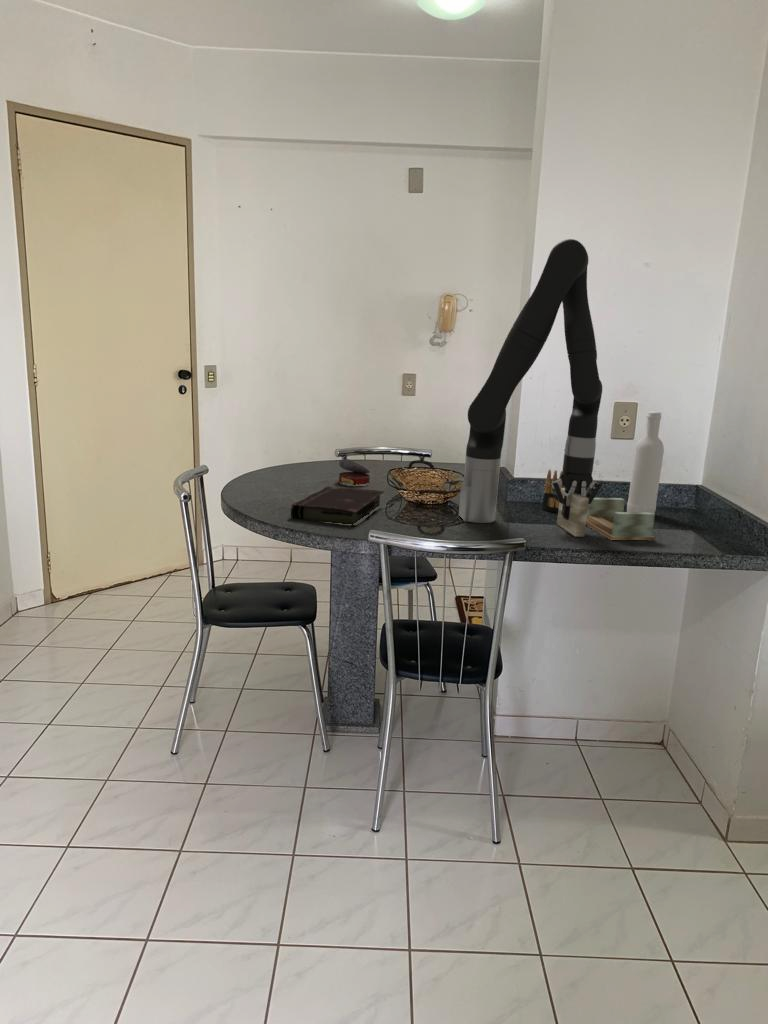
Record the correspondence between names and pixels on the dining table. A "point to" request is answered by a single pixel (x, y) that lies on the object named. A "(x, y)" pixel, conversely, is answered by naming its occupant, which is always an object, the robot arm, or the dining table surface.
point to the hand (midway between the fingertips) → (571, 518)
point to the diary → (337, 505)
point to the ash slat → (574, 515)
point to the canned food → (353, 473)
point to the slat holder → (619, 520)
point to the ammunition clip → (550, 494)
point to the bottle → (646, 468)
